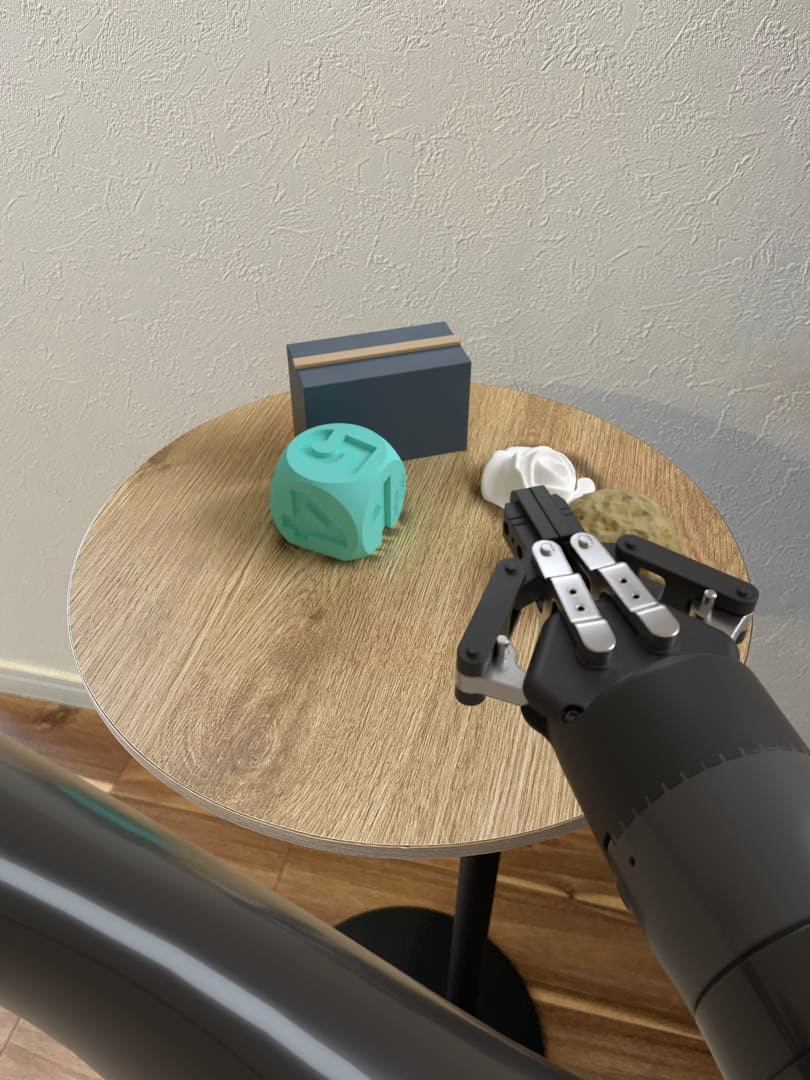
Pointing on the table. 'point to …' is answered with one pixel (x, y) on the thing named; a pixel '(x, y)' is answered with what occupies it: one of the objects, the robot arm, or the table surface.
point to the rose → (531, 474)
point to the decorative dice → (337, 490)
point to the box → (386, 387)
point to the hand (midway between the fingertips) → (523, 502)
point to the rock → (625, 519)
